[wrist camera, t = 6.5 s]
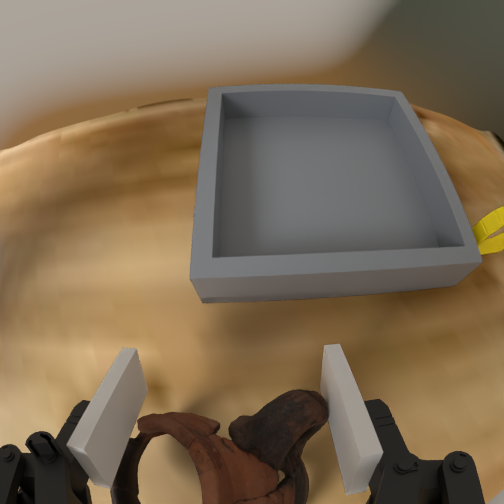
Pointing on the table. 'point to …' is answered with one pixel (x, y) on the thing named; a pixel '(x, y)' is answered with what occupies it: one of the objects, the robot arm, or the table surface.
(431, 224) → the tray
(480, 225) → the watch
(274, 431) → the broken clay jug
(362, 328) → the table surface
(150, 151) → the table surface
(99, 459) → the robot arm
